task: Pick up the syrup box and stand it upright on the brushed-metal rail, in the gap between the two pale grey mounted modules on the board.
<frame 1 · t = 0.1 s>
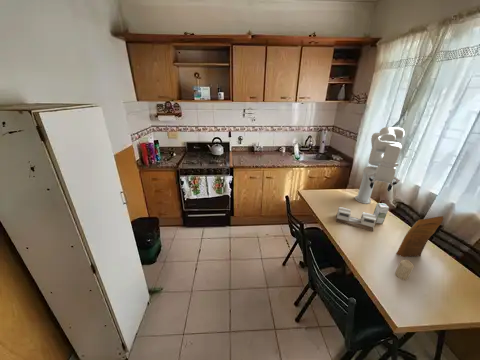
hand: (379, 189, 136), 31 cm above the table, tool pointing down, fingers open, 9 cm apart
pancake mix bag: (409, 255, 126), on the table
rail board: (353, 222, 155), on the table
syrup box: (377, 221, 157), on the table
candle: (401, 276, 112), on the table
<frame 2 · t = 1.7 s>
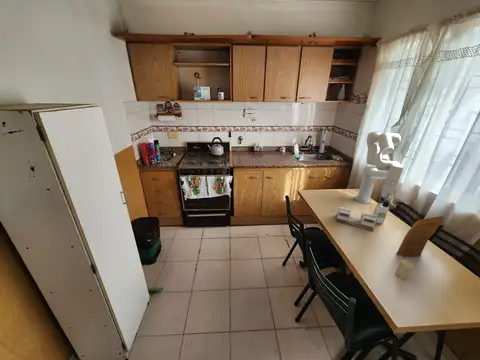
hand: (383, 203, 150), 16 cm above the table, tool pointing down, fingers open, 9 cm apart
nothing on the table moved.
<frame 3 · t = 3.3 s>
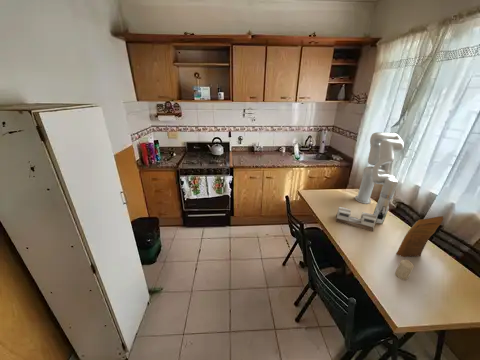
hand: (379, 216, 155), 5 cm above the table, tool pointing down, fingers closed on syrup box, 7 cm apart
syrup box: (377, 221, 157), on the table, touching gripper
everything else where it was.
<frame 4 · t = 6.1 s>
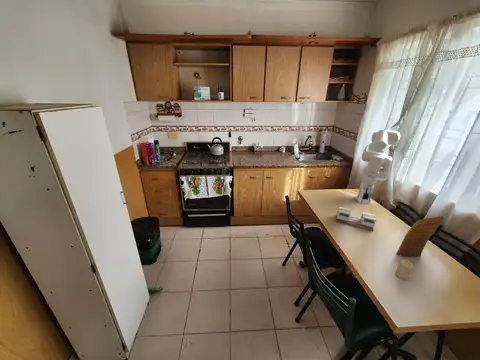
hand: (364, 196, 146), 22 cm above the table, tool pointing down, fingers closed on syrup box, 7 cm apart
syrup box: (362, 202, 148), point 17 cm above the table, touching gripper
everything else where it was.
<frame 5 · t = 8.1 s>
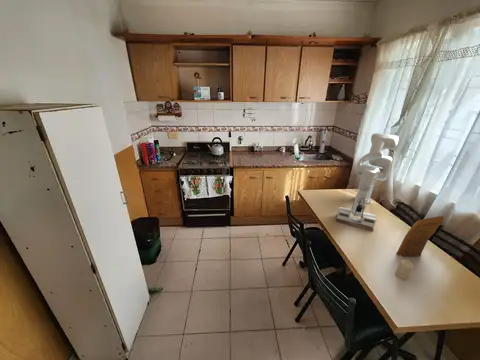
hand: (357, 208, 150), 12 cm above the table, tool pointing down, fingers closed on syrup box, 7 cm apart
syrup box: (356, 214, 152), point 7 cm above the table, touching gripper
everything else where it was.
when the fingers open (8 cm above the table, at t = 9.4 s): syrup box stays where it is, resting on rail board.
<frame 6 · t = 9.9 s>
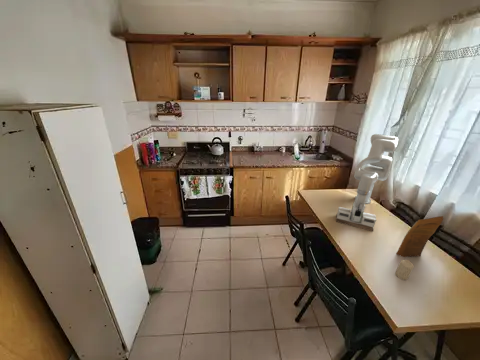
hand: (356, 212, 151), 9 cm above the table, tool pointing down, fingers open, 9 cm apart
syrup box: (354, 220, 154), point 2 cm above the table, touching rail board
everything else where it was.
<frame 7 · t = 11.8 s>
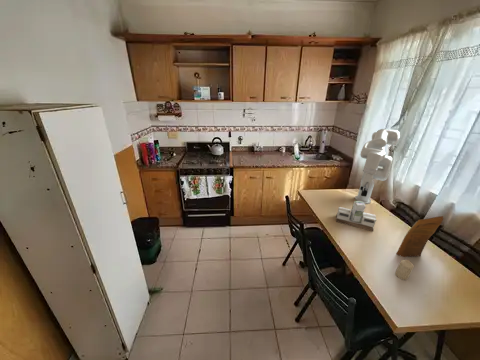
hand: (363, 192, 145), 24 cm above the table, tool pointing down, fingers open, 9 cm apart
nothing on the table moved.
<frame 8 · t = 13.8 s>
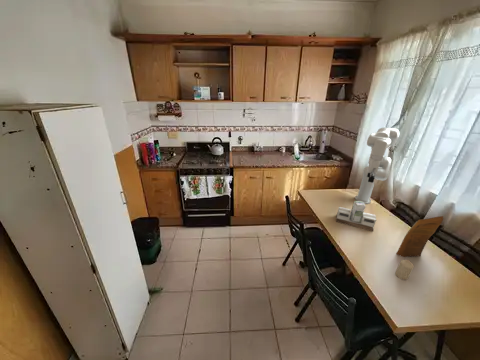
hand: (369, 179, 152), 30 cm above the table, tool pointing down, fingers open, 9 cm apart
nothing on the table moved.
at the end: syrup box 0.1 cm off-centre on the rail board, point 2.3 cm above the rail board's base; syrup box tilted 0°; the gripper is holding nothing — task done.
